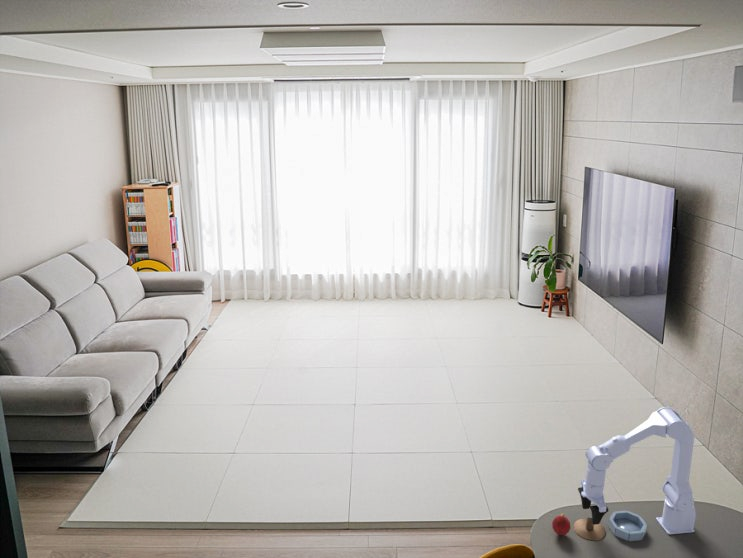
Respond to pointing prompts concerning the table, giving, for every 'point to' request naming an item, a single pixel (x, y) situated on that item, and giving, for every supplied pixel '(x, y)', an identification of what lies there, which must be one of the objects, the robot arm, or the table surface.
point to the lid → (589, 529)
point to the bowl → (627, 525)
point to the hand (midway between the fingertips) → (590, 515)
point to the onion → (561, 525)
